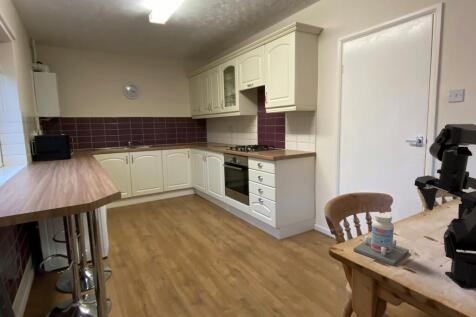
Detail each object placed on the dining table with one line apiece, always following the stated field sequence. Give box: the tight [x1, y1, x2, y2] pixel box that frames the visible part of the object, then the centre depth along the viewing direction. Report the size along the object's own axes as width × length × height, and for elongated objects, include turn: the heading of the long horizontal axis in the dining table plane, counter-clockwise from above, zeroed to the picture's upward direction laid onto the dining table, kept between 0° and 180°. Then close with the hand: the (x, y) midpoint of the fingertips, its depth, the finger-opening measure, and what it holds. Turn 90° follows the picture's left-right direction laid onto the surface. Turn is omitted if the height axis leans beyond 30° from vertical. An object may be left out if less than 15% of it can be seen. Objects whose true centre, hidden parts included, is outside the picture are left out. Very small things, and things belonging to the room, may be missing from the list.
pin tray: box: [352, 235, 410, 267], centre depth 87 cm, size 12×12×4 cm
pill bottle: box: [370, 212, 395, 253], centre depth 86 cm, size 6×6×11 cm
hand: (444, 216), depth 82 cm, fingers open, 9 cm apart
